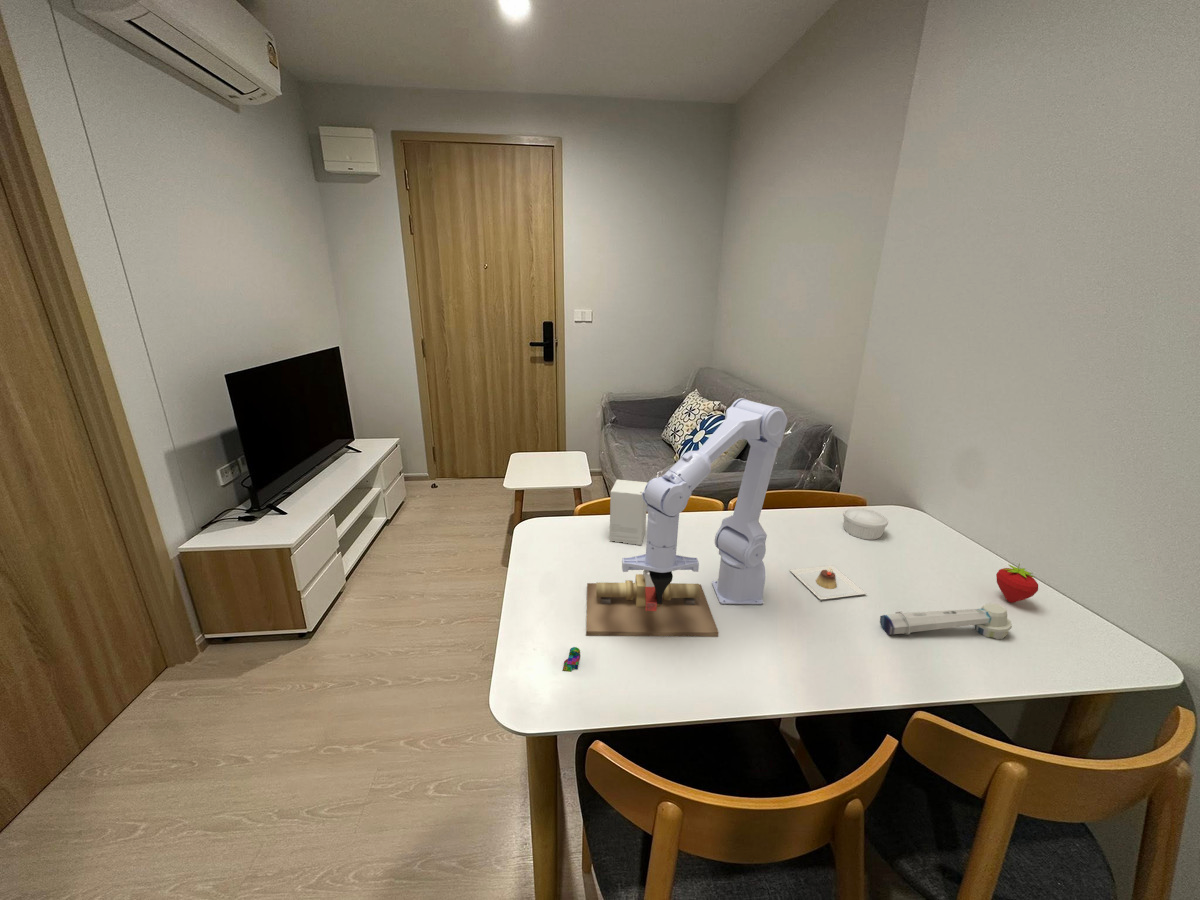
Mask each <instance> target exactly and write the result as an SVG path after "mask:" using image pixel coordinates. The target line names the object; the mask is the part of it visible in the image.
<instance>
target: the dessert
mask: <svg viewBox="0 0 1200 900" xmlns="http://www.w3.org/2000/svg"><path fill="white" fill-rule="evenodd" d="M789 572H790V573H792V574H793V575H794V577H796V578H797V579H798V580H799V581H800V582H801V583H802V584H803V585H804V586H805V587H806V588H807V589H808V590H809V591H811V592H812V594H814V595H815V596H816V597H817V598H818V599H819V600H820V601H821V600H829V599H831V600H832V599H837V598H846V597H852V596H863V595H867V592H866V591H864V590H863V589H862V588H861V587H860V586H859V585H857V584H856V583H854V582H853V581H852V580H850V579H849V577H847V576H846V575H845V574H843V572H841V571H840V570H839V569H837V567H836V566H834V565H833V564H831V565H830V564H829V565H821V566H813V567H802V568H794V569H789ZM819 572H820V573H819ZM810 573H819V575H818V576H817V578H816V579H815V583H816V585H818V586H819V587H821V588H824V589H827V590H835V589H836V588H837V587H838V584H837V578H839V579H840V580H841V581H842V582H844V583H845V584H846V585H847V586H848V587H849V588H850V589H852V590H853V591H855V592H856V593H849V594H847V593H846V594H841V595H832V596H824V597H823V596H820V595H819V594H818V593H817V592H816V591H815V590H814V589H813V588H812V587H811V586H809V584H808V583H807V582H805V581H804V580H803V579H802V577H800V576H799V575H800V574H801V575H802V574H810ZM836 576H837V578H836Z"/></svg>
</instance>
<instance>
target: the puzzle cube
mask: <svg viewBox="0 0 1200 900" xmlns="http://www.w3.org/2000/svg"><path fill="white" fill-rule="evenodd" d="M580 659H581V650H580V648H579V647H577V646H573V647H571V648H570V649H569V652H568V657H567V659H565V660H564V662H563V665H562V670H561V671H562V672H568V673H572V671H573V670H578V669H579V665H580V663H579V662H580Z"/></svg>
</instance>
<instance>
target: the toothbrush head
mask: <svg viewBox="0 0 1200 900" xmlns="http://www.w3.org/2000/svg"><path fill="white" fill-rule="evenodd" d="M879 624H880V627H881V629H882V631H884V632H885V634H886V635H887V636H891V635H901V634H902V635H904V636H907V635H911V633H916V632H917V633H918V632H925V631H934V630H935V631H936V630H940V629H941V630H942V629H951V628H959V627H967V626H974V630H975V631H976V632H977V633H978V634H980V635H982V636H984V637H986V638H994V639H995V640H1001V639H1004V637H1006V636H1008V632H1009V631H1010V630H1011V629H1012V627H1013V625H1012V620H1010V619H1009V618H1008V611H1007V609H1006V608H1005V607H1004V606H1003V605H1000V604H997V603H992V602H991V603H990V602H989V603H985V604H984V605H983V606H982V607H981V608H968V609H950V610H949V609H948V610H933V611H931V610H930V611H917V612H915V611H914V612H903V611H902V610H901V611H897V612H895V613H891V614H882V615H880V616H879Z"/></svg>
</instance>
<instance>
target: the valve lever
mask: <svg viewBox="0 0 1200 900" xmlns="http://www.w3.org/2000/svg"><path fill="white" fill-rule="evenodd" d="M642 571H643V572H642V574H643V580H644V581H645V606H646V611H656V608H657V599H656V591H655V587H654V584H653V582H652V580H651V577H650V573H649V571H648V570H642Z"/></svg>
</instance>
